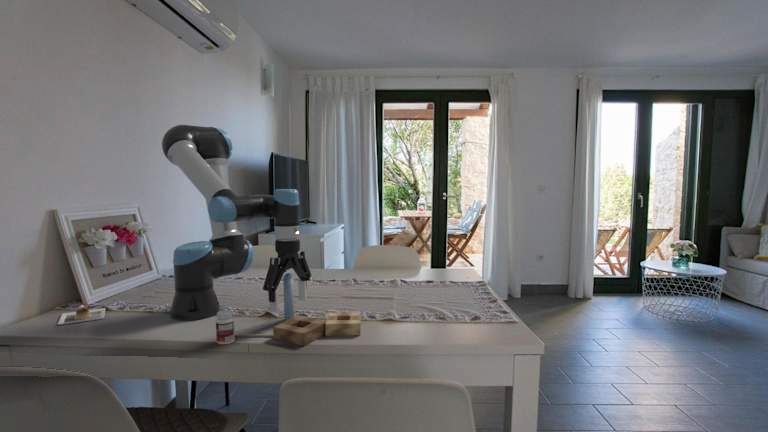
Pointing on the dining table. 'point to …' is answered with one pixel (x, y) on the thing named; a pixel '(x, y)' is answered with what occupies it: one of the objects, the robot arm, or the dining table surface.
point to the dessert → (81, 315)
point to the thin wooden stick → (254, 335)
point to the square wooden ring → (299, 330)
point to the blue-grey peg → (288, 297)
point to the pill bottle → (225, 327)
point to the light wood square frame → (343, 324)
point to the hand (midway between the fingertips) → (289, 306)
